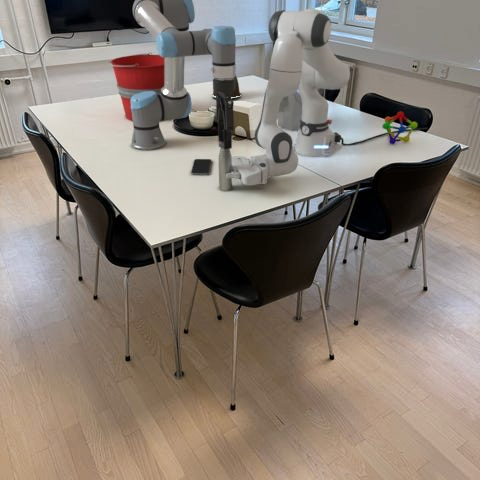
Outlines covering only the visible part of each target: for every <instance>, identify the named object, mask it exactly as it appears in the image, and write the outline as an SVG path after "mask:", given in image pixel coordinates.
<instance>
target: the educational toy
mask: <svg viewBox="0 0 480 480" xmlns="http://www.w3.org/2000/svg"><path fill="white" fill-rule="evenodd" d="M397 119H399V124H400V125H399V127H398V126H393V125H391V124H392V123H394V122H395V121H396V120H397ZM403 120H404V121H405V122H407V123H408V124H409V125H407V126H404V123H403ZM417 127H418V122H417V121H411V120H410V119H409V118H408V117H406V116H405V113H404V112H403V111H401V110H400V111H398V112H397V114H396V115H394V116H391V117H390V116H386V117H385V118H384V122H383V123H382V129H383V130H386V133H388V135H387V138H388V142H389V145H395V144H396V143H397V142H402V141H403V142H404V143H409V142H410V140H411V138H410V136H411V134H412V132H413V131H412V130H413V129H417ZM392 129H393V130H396V131H399V132H398V133H392V132H393V131H392ZM406 129H410V131H408V133H407V134H406V135H404V136H401V134H403V133H405V132H406V131H405V130H406ZM399 135H400V136H399Z"/></svg>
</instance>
